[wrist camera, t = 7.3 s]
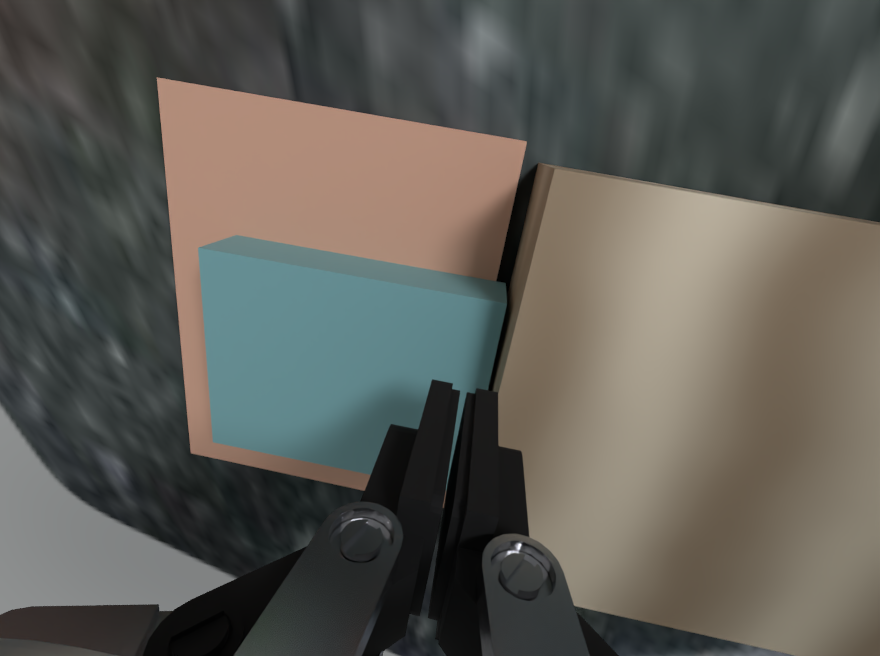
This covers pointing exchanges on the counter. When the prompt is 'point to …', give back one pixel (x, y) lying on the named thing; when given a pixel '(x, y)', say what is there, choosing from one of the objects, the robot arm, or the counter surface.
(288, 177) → the mat
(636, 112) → the counter surface
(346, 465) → the tile
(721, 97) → the counter surface
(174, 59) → the counter surface
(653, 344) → the platform
